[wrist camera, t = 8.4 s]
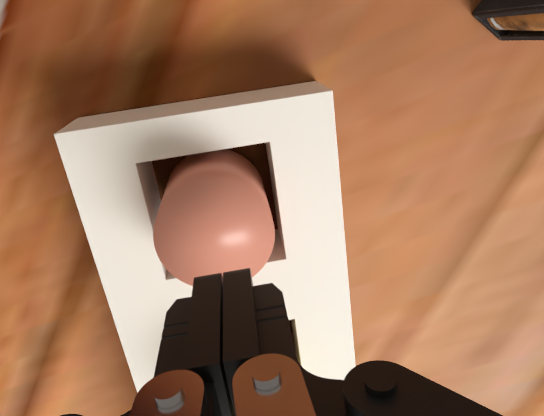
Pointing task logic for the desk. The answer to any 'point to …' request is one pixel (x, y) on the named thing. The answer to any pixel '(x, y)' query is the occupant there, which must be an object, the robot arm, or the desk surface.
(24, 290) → the desk surface
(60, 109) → the desk surface
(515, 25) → the ammunition clip
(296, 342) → the panel
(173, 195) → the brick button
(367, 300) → the desk surface
